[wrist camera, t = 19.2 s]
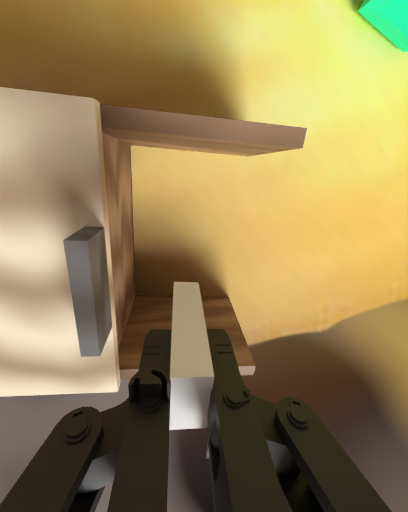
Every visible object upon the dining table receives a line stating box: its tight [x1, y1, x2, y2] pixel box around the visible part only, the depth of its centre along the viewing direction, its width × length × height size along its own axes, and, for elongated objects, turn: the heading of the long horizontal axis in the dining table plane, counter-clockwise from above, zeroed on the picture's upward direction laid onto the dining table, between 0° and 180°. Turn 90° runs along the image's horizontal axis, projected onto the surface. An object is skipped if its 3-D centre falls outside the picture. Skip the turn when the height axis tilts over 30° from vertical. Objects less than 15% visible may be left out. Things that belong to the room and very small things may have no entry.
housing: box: [100, 104, 307, 379], centre depth 23 cm, size 22×28×13 cm
